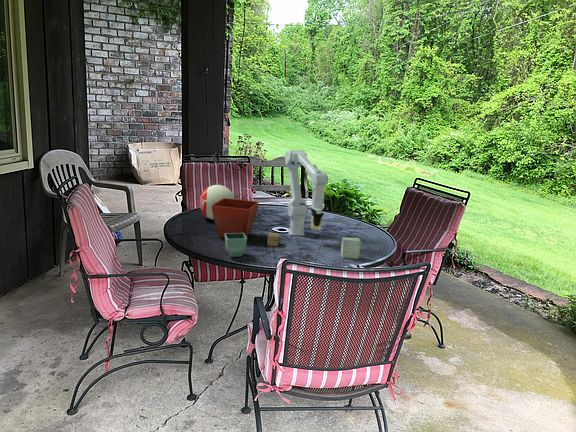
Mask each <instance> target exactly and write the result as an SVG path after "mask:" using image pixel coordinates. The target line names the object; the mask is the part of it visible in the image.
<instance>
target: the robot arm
mask: <svg viewBox="0 0 576 432" xmlns="http://www.w3.org/2000/svg"><path fill="white" fill-rule="evenodd" d="M284 162H285V166H286V168H287V174H288V180H289V181H288V182H289V189H290V195H291V199H290V201H289V202H288V203H287V214H288V216H289V218H290V223H289V229H288V235H289V236H303V237H304V236H305V235H306V234H305V230H304V227H305V219H306V216H308V214H309V209H310V212H311V215H312V216H313V217H314V226H319V224H320V221H321V218H322V219H323V216H324V212H322V211H323V210H324V208H325V207H324V204H325V203H324V202H325V191H326V185H327V184H328V182H329V176H328V175H327V173H326V172H323V171H321V170H320V169H319V168H318V167H317V165H316V164H315V163H312V162H311V161H310V160H309V157H308V155H307V151H306V150H304V149H287V150H286V151H285V153H284ZM302 166H303V167H304V168H305V172H306V175H308V176H309V178H310V181H311V188H312V195H311V196H312V197H311V205H309V206H308V204H307V201H306V200H305V199H303V198H302V191H301V183H300V175H299V168H301V167H302ZM312 216H311V217H312Z"/></svg>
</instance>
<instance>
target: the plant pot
mask: <svg viewBox="0 0 576 432" xmlns="http://www.w3.org/2000/svg"><path fill="white" fill-rule="evenodd" d="M258 208H259V201H255V200H254V201H253V200H245V199H237V198H235V199H228V198H223V199H221V200H220V201H218V202H216V203H214V204H213V205H212V212H213V218H214V220H213V222H214V224H215V225H214V226H215V229H216V232H217V235H218V237H219V238H221V239H225V235H224V234H225V233H244V234H245V236H246V237H247V238H248V236H249V235H250V234H251V233H252V232H251V231H252V229H253V226H254V224H255V220H256V217H257V212H258Z"/></svg>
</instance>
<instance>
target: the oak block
mask: <svg viewBox="0 0 576 432" xmlns="http://www.w3.org/2000/svg"><path fill="white" fill-rule="evenodd" d="M322 219H323V217H322V218H321V221H320V224H319V226H314V217H313V216H311V221H310V229H311V230H316V231H321V230H322Z"/></svg>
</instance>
